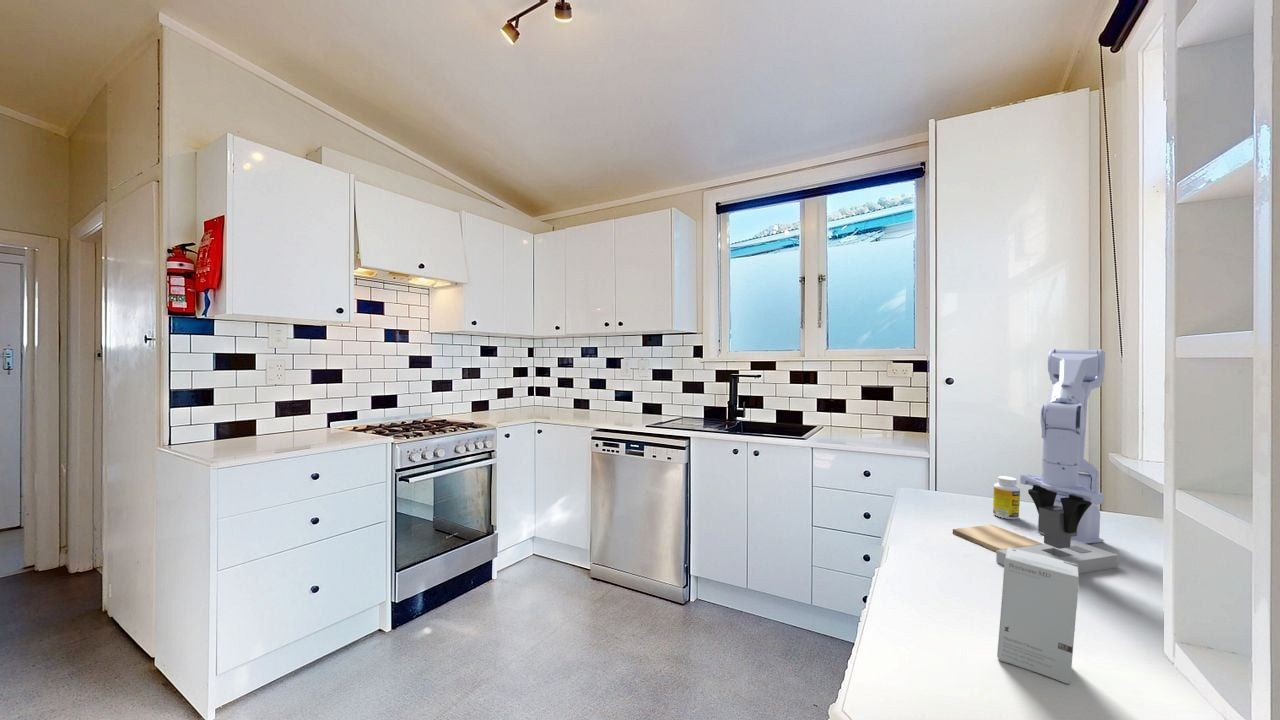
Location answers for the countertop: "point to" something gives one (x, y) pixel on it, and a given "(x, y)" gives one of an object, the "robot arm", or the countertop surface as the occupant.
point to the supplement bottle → (1006, 498)
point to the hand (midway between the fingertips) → (1057, 528)
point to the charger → (1054, 527)
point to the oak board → (994, 537)
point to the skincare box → (1038, 613)
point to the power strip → (1071, 555)
